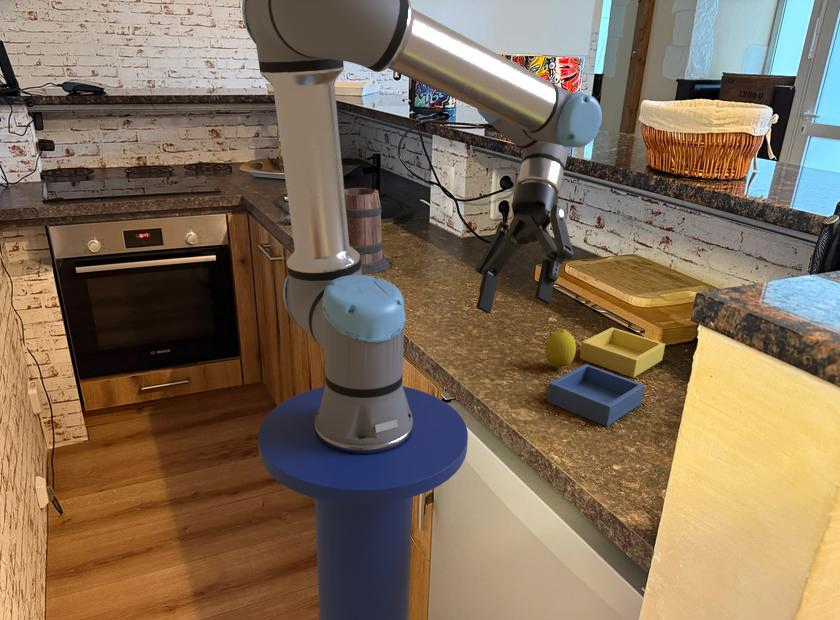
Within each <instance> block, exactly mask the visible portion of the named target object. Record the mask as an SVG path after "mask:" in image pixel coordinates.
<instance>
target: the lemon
mask: <svg viewBox="0 0 840 620" xmlns="http://www.w3.org/2000/svg"><path fill="white" fill-rule="evenodd" d="M576 350H577V345H576V340H575V337H574V336H573V334H571V333H570V332H569V331H566V329H564V328H562V329H560V330H556V331H555V332H552V333H551V335H549V337H548V339H547V341H546V344H545V358H546V360H547V361H548V363H549V364H550V365H552V366H554V367H555V369H557V370H560V369H562V368H564V367H567V366H569V365H570V364H571V363H573V361H574V359H575V357H576Z"/></svg>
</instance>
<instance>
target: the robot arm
mask: <svg viewBox="0 0 840 620" xmlns="http://www.w3.org/2000/svg"><path fill="white" fill-rule="evenodd" d="M241 3H242V4H241V12H242V13H241V14H242V19H243V24H244V27H245V29H246V31H247V34H248V36H249V37H250V39H251V40H252V42H253V43H254V44H255V47H256V53H257V61H258V67H259V74H260V75H261V76H262V77H263V78H264V79H265V80H266V81H267V82H268V83H269V84H270V85H271V87H272V89H273V97H274V104H275V111H276V119H277V127H278V135H279V143H280V149H281V156H282V157H281V159H282V165H283V172H284V179H285V181H284V182H285V188H286V196H287V202H288V212H289V211H290V219H291V224H290V226H291V233H292V241H293V248H294V249H293V252H292V253H291V254H290V256H288V258H287V259H286V269H287V271H286V272H287V276H286V278H285V280H284V283H283V287H282V288H283V289H282V297H283V303H284V306H285V309H286V310H287V313H288V314H289V316H290V318H291V319H292V320H293V322H294V323H295V324H296V325H297V326H298V327H299V328H300V329H302V330H304V332H306V334H307V335H308V336H309V337H311V338H312V339H313V340H314V341H315V342H316V343H317V344H318V345H319V346H320V347H321V348H322V349H323V351H324V370H325V371H324V375H325V376H324V377H325V386H324V387H325V389H324V393H323V396H322V400H321V404H320V408H319V409H318V411H317V413H316V417H315V434H316V437H317V438H318V440H319V441H320V442H321V443H322V444H324V445H325V446H327V447H329V448H331V449H333V450H336V451H339V452H342V453H347V454H354V455H372V454H379V453H384V452H388V451H391V450H394V449H396V448H398V447H400V446H402V445H403V444H405V443H406V442H407V441H408V440H409V439H410V437H411V435H412V432H413V418H412V413H411V411H410V409H409V405H408V401H407V398H406V395H405V392H404V389H403V376H404V375H403V374H404V373H403V372H404V348H405V347H404V346H405V345H404V344H405V343H404V341H405V324H406V311H405V301H404V300H405V299H404V296H403V293H402V292H401V290H400V289H399V288H398V287H397V286H395V285H394V284H393V283H392V282H390V281H388V280H386V279H383V278H380V277H379V278H376V277H374V276H372V275H367V274H366V275H365V274H362V271H361V260H360V254H359V253H358V252H357V251H356V250H355V249H353V248H352V247H351V246H350V245H349V235H348V225H347V214H346V203H345V192H344V190H345V182H344V173H343V162H342V161H343V160H342V151H341V139H340V129H339V127H340V126H339V119H338V118H339V117H338V107H337V106H338V105H337V96H336V95H337V94H336V85H335V83H336V81H337V79H338V78H339V77H340V75H341V74H342V73H343V71H344V70H345V66H344V64H345V63H344V62H347V63H351V64H355V65H359V66H360V67H364V68H366V69H368V70H371V71H372V72H375V73H381V72H383V71H385V70H387V69H388V70H391V71H393V72H395V73H397V74H399V75H401V76H404V77H406V78H408V79H411V80H413V81H415V82H417V83H420V84H422V85H424V86H426V87H428V88H430V89H433V90H434V91H437V92H439V93H442V94H444V95H446V96H448V97H450V98H453V99H455V100H457V101H459V102H461V103H463V104H466V105H468V106H470V107H473V108H475V109H477V112H478V114H479V115H480V116H481V117H482V118H483V119H484V120H485V121H486V122H487V124H488V125H489V126H492V127H493V128H494V129H495V130H496V131H498V132H499V133H500V134H501V135H503V136H504V137H505V138H507V139H508V140H509V142H511V143H512V144H514V145H515V146H516V147H517V148H519V150H521V151H522V152H523V154H522V157H521V158H522V159H521V164H520V166H519V167H520V168H519V170H518V171H519V172H518V175H517V179H516V183H515V187H516V188H515V189H514V193H513V196H512V202H511V210H512V213H513V217H512V219H511V221H510V222H509V223H505V222H503V221H500V222H499V223H498V224H497V227H496V230H495V233H494V235H493V237H492V239H491V241H490V242H489V244H488V246H487V248H486V250H485V251H484V253H483V255H482V256H481V259H480V260H479V262H478V264H477V265H476V267H475V272H476V273H478V274H479V275H481V276H482V277H481V280H480V281H481V282H480V284H479V289H478V291H479V294H478V299H477V302H476V309H478V310H480V311H482V312H483V313H486V314H491V313H492V308H493V304H494V300H495V295H496V292H497V286H498V282H499V278H498V277H497V276H498V275H499V273H500V272H501V271H502V269H504V266H506V264H507V263H508V261H509V260H510V259H511V257H513V255H514V254H515V253H516V251H517V250H520V249H521V248H522V247H523V246H525V245H527V244H530V243H536V242H539V245H540V246H541V248H542V250H543V252H544V253H545V255H544V256H545V257H547V258H543V259H542V263H541V268H540V271H539V272H540V273H539V276H538V282H537V286H536V291H535V295H534V298H535V299H537V300H538V301H540V302H542V303H543V304H545V305H549V304H551V301H552V296H553V291H554V287H555V283H556V282H557V281H558V279H559V275H560V269H561V265H562V264H563V263H564V262H565V260H566V259H568V260H571V259H572V258H573V257H574V254H575V253H574V250H573V245H572V241H571V237H570V234H569V230H568V225H567V215H568V213H567V211H566V210H565V209H563V208H561V207H560V206H559V205H558V202H559V194H560V193H561V187H562V182H563V179H564V174H565V169H566V164H567V160H568V155H569V152H570V148H584V147H585V146H587V145H589V144H591V143H592V142H593V141H594V139H595V138H596V136H597V135H598V134H599V130H600V128H601V126H602V121H603V112H602V108H601V105H600V103H599V101H598V100H597V99H596V97H594V96H592V95H590V94H586V93H583V92H581V91H577V92H572V91H569V90H567V89H565V88H563V87H561V86H559V85H557V84H555V83H553V82H552V81H549V80H547V79H545V78H544V77H542V76H540V75H538V74H536V73H534V72H532V71H530V70H529V69H527V68H525V67H523V66H521V65H519V64H517V63H515V62H514V61H512V60H510V59H508V58H506V57H505V56H503V55H500V54H499V53H496V52H495V51H493V50H491V49H489V48H487V47H485V46H484V45H482V44H480V43H478V42H476V41H474V40H472V39H471V38H470V37H469V38H468V37H467V36H465V35H463V34H461V33H459V32H457V31H455V30H454V29H452V28H450V27H448V26H446V25H444V24H442V23H440V22H439V21H437V20H435V19H433V18H431V17H429V16H428V15H425V14H424V13H422V12H420V11H418V10H416V9H414V8H412V6H411V1H410V0H242V2H241ZM550 225H551V230H552V233H553V239H554V241H553V239H552V235H551V234H550V232H549V230H548V228H549V226H550ZM512 238H513V239H514V240H513V239H512Z"/></svg>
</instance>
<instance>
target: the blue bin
mask: <svg viewBox="0 0 840 620" xmlns="http://www.w3.org/2000/svg"><path fill="white" fill-rule="evenodd" d="M645 386H646V385H645V384H643V383H640V382H637V381H634V380H632V379H629V378H627V377H624V376H621V375H618V374H615V373H612V372H611V371H607V370H604V369H602V368H598V367H596V366H593V365H590V364H588V363H585V364H583V365H580V366H578V367H576V368H574V369H573V370H571V371H569V372H567V373H566V374H564V375H562V376H560V377H558V378H556V379H554V380H552V381H550V382H549V383H548V390H547V397H546V398H547V399H546V402H548V403H550V404H552V405H554V406H557V407H559V408H562V409H565V410H567V411H569V412H571V413H573V414H576V415H578V416H581V417H583V418H586V419H588V420H590V421H592V422H594V423H598V424H599V425H602V426H604V427H609V426H610V425H611V424H613V423H614V422H617V420H619V419H621V418H622V417H623V416H625V415H626V414H628V413H630V412H631V411H633V410H634V409H635V408H637V407H638V406H640V405H642V402H643V398H644V391H645V388H646V387H645Z"/></svg>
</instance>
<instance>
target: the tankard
mask: <svg viewBox="0 0 840 620" xmlns="http://www.w3.org/2000/svg"><path fill="white" fill-rule="evenodd" d="M344 192H345V203H346V214H347V225H348V235H349V245H350V246H351V247H352V248H353V249H355V250H356V251H357V252H358V253H359V254H360V260H361V271H362V275H365V274H374V273H379V272H383V271H385V270H387V269H389V268H390V267H391V264H390V262H389V261H388V260H387V258H386V256H385V255H383V249H384V241H383V239H382V217H381V216H382V213H383V212H382V205H381V201H380V193H379V190H378V189H370V188H366V187H359V188H358V187H350V188H344Z"/></svg>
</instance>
